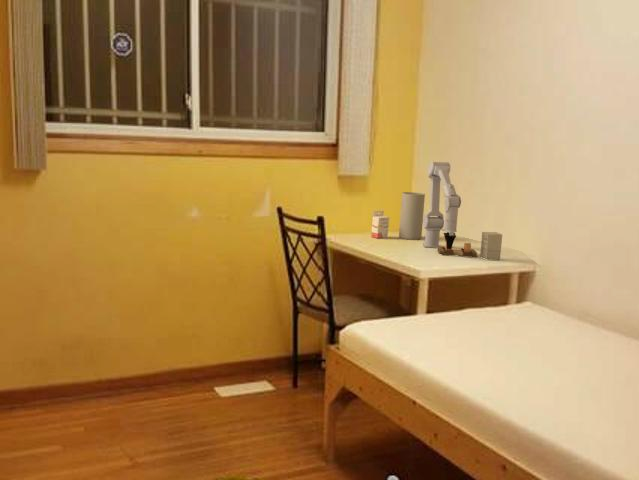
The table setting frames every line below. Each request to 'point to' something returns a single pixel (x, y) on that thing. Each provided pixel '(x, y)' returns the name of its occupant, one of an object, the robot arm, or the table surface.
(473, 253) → the wooden grid frame
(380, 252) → the table surface
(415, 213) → the cylinder vase
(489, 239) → the supplement box
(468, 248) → the pin
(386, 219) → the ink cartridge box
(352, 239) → the table surface
